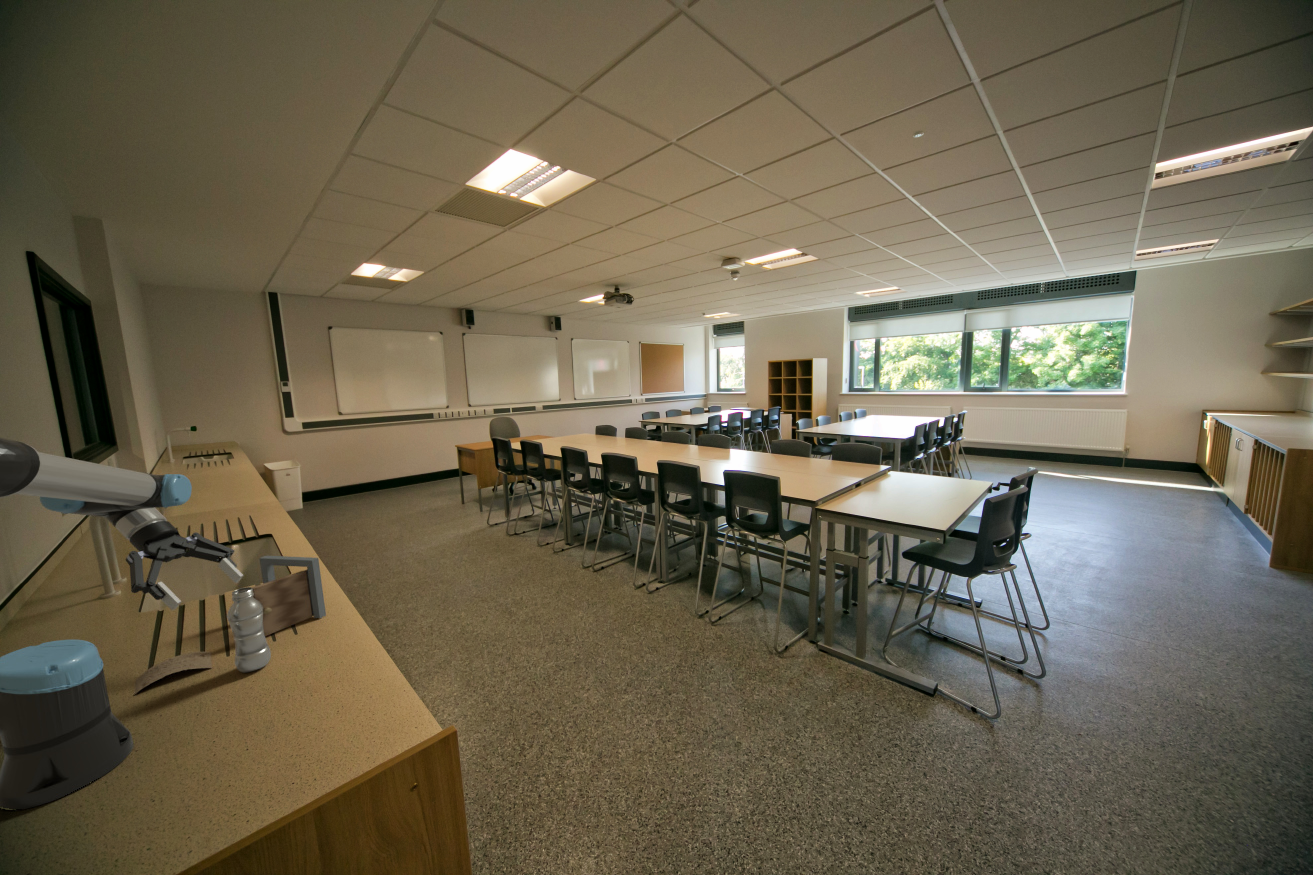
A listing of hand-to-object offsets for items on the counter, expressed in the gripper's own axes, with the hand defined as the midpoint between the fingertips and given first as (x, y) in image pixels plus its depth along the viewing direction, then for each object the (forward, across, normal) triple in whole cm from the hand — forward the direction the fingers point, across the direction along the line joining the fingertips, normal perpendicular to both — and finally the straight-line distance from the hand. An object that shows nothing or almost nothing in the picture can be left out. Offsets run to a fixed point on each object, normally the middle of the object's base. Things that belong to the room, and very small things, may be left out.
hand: (210, 591), depth 110 cm
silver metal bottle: (+21, 0, -6) cm, 22 cm away
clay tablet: (+8, +4, -20) cm, 22 cm away
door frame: (+12, -23, -15) cm, 30 cm away
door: (+14, -16, -12) cm, 25 cm away
